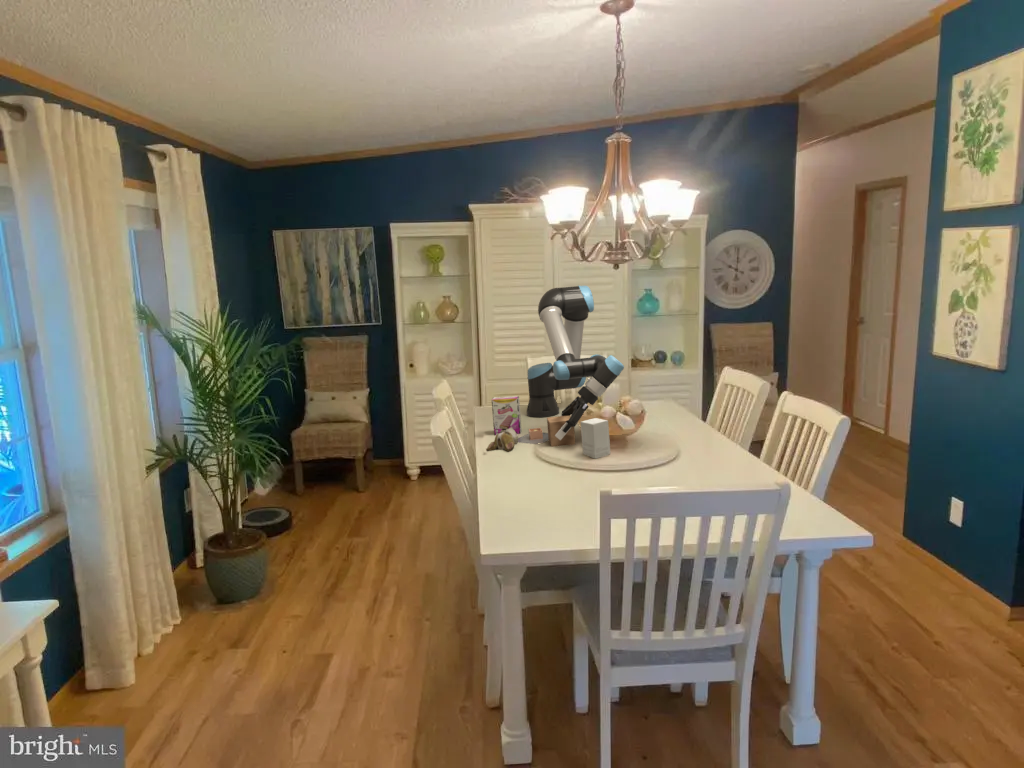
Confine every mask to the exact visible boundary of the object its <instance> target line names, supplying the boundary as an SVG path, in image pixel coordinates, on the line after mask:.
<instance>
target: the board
mask: <svg viewBox="0 0 1024 768" xmlns="http://www.w3.org/2000/svg"><path fill="white" fill-rule="evenodd" d="M542 434H543V439H535V440H530V438H529V433H527V434H524V435H522V436H518V444H519V443H522V444H530V445H532V444H533V445H539V444H538V443H542V444H543V443H546V442H549V438H548V432H542Z"/></svg>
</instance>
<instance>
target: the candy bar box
mask: <svg viewBox="0 0 1024 768" xmlns="http://www.w3.org/2000/svg"><path fill="white" fill-rule="evenodd" d="M520 406H521V405H520V396H519V395H513V396H512V395H511V396H495V397H492V398H491V408H492V409H491V410H492V422H493V433H494V436H496V435H497V434H498V433H500V432H501V430H502V429H509V428H510V427H512V428H513V430H514V431H515V432H516V434H517V435H521V434H522V420H521V419H522V418H521V407H520Z"/></svg>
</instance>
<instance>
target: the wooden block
mask: <svg viewBox="0 0 1024 768" xmlns="http://www.w3.org/2000/svg"><path fill="white" fill-rule="evenodd" d="M570 417H571V415H569V416H561V415H559V416H558V415H557V416H548V417H547V418H546V423H547V433H548V438H549V440H548V442H549V444H550V447H560V446H561V447H562V446H563V447H564V446H573V445H576V435H575V427H572V428H571V429H570V430H569V431H568V432H567V433H566V435H565V436H564V437H563V438H562V439H561V440H559V439H558V438H557V437H556V436H555V435H556V433H557V432H558V431H559V430H560V429H561V428H562V426H563V425H564V424H565V423H566V421H567V420H569V418H570Z"/></svg>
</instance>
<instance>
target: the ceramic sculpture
mask: <svg viewBox="0 0 1024 768" xmlns="http://www.w3.org/2000/svg"><path fill="white" fill-rule="evenodd" d="M518 438H519V435H518V434H516V432H515V431H514V430H513V428H512V427H510V428H509V429H502V430H501V432H500V433H498V434H497V435H495V438H494V441H491V442H490V443H489V444H488V446H487V448H485V450H486V451H495V450H496V449H498V450H505V451H507V452H510V451H513V450H514V448H515V445H517V444H519V442H518Z"/></svg>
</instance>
